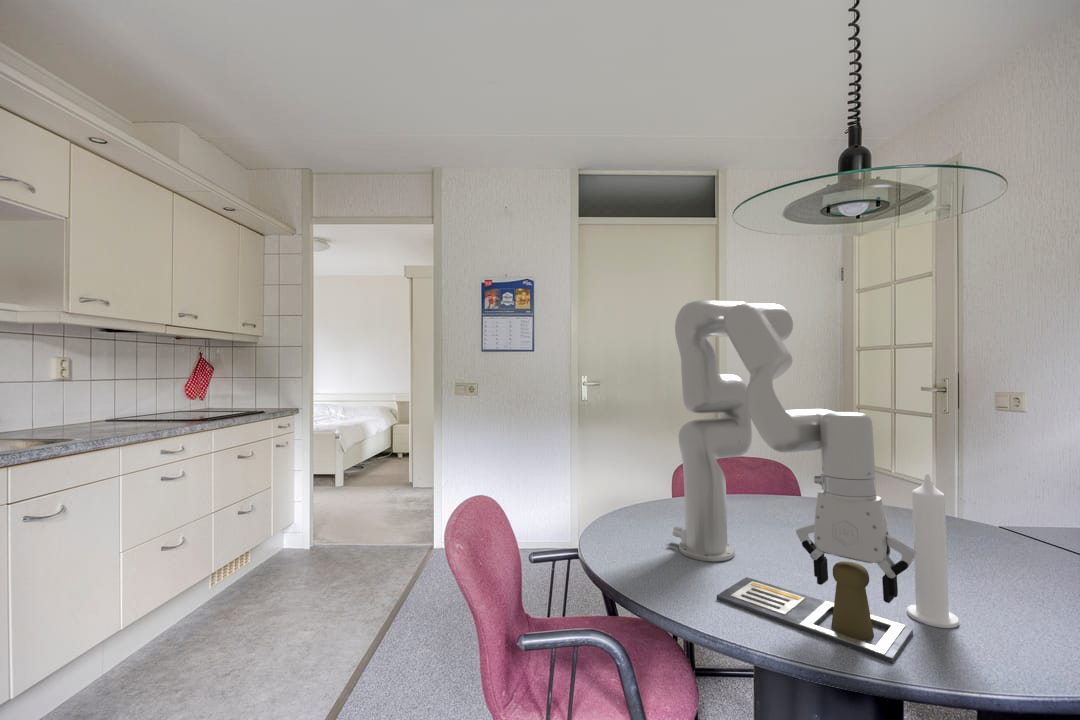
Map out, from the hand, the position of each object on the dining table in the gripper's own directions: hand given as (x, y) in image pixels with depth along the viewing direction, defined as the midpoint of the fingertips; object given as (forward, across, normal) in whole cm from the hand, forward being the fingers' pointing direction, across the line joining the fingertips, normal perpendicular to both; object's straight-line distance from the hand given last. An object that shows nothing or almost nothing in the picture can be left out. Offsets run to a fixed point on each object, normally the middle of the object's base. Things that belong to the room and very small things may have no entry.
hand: (854, 590), depth 82 cm
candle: (+7, +7, +15) cm, 18 cm away
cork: (+7, -1, 0) cm, 7 cm away
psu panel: (+7, -8, 0) cm, 10 cm away
